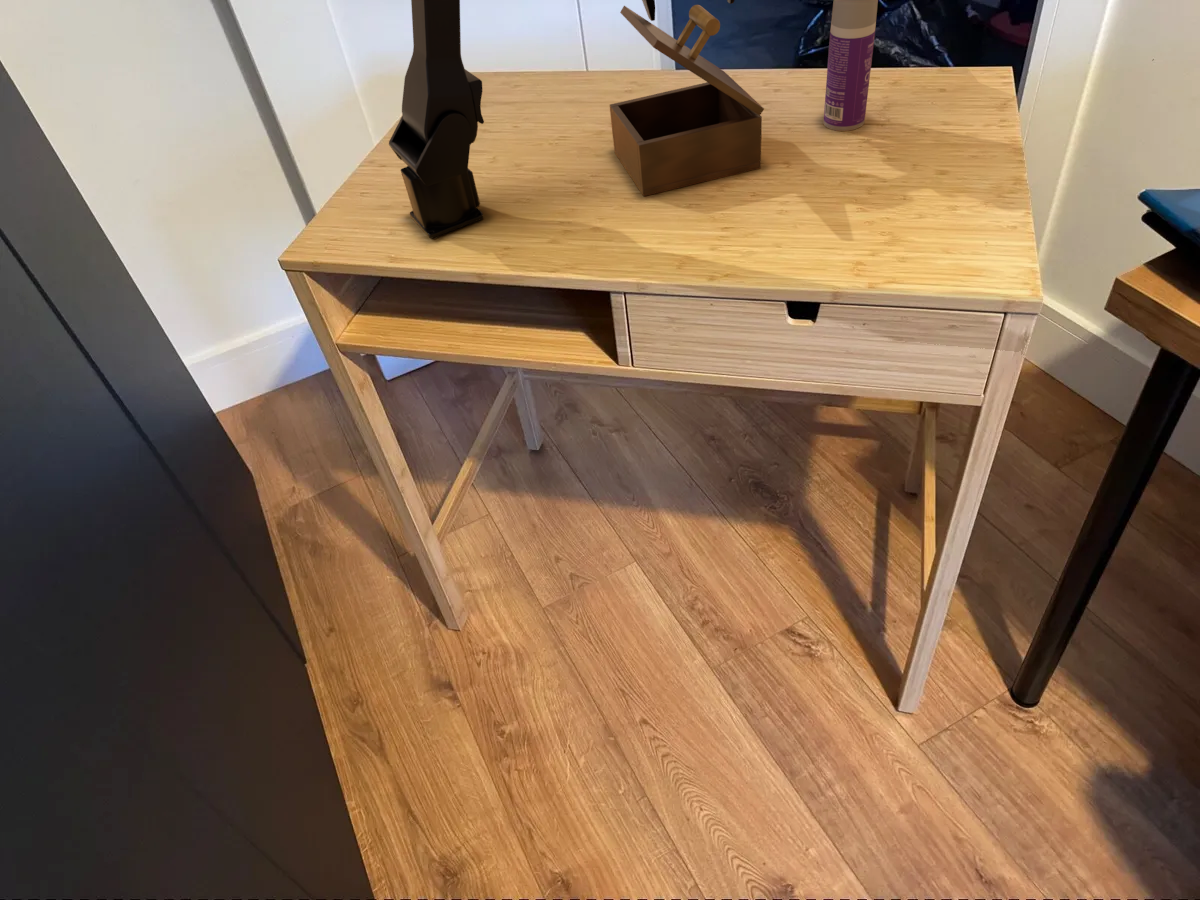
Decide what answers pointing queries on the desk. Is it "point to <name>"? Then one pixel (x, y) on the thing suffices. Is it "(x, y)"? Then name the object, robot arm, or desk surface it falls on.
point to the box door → (693, 51)
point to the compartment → (685, 137)
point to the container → (849, 63)
